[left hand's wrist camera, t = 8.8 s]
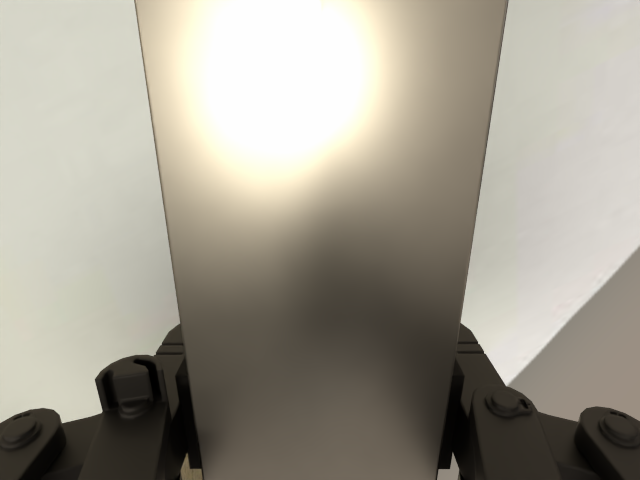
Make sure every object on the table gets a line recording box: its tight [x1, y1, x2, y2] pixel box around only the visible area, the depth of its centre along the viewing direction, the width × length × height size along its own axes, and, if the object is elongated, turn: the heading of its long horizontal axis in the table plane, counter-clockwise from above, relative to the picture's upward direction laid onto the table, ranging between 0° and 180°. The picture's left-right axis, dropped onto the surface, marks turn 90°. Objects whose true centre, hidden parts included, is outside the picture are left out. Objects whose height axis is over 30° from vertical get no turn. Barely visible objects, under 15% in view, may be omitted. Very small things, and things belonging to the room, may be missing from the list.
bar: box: [134, 0, 508, 480], centre depth 9 cm, size 22×5×8 cm, turn 0°
